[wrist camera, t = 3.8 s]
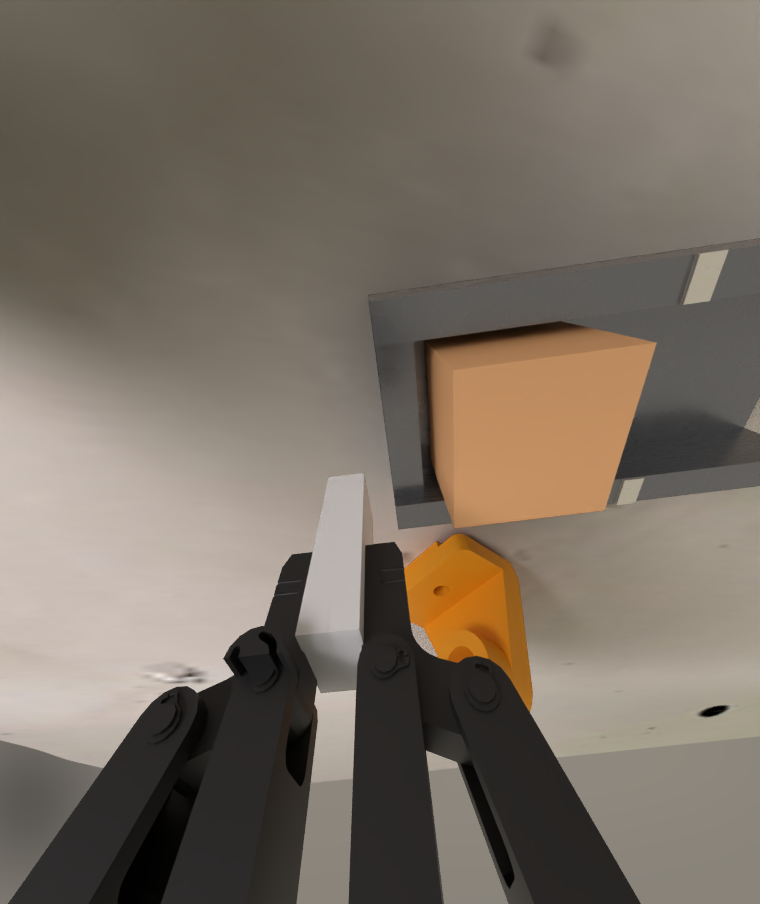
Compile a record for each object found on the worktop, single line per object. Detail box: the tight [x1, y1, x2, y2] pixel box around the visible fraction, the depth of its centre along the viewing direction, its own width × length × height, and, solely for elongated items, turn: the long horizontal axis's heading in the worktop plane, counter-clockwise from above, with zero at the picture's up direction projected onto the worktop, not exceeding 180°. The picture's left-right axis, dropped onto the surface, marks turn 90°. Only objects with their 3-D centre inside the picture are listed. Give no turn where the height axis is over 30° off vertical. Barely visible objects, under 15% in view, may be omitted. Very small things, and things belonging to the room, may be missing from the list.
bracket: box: [404, 534, 533, 712], centre depth 26 cm, size 11×7×12 cm, turn 142°
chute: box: [368, 239, 760, 529], centre depth 19 cm, size 26×14×6 cm, turn 97°
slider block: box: [425, 321, 657, 528], centre depth 17 cm, size 8×9×7 cm
